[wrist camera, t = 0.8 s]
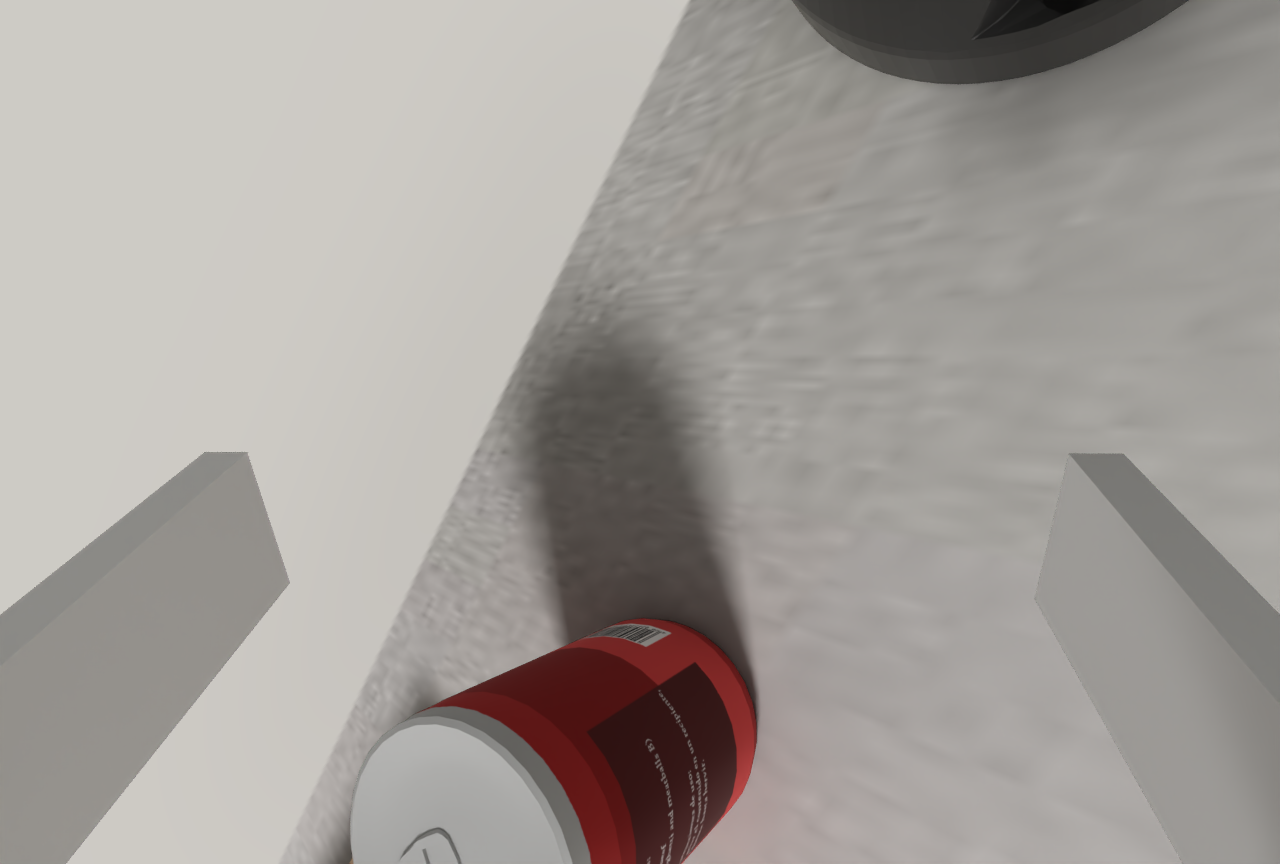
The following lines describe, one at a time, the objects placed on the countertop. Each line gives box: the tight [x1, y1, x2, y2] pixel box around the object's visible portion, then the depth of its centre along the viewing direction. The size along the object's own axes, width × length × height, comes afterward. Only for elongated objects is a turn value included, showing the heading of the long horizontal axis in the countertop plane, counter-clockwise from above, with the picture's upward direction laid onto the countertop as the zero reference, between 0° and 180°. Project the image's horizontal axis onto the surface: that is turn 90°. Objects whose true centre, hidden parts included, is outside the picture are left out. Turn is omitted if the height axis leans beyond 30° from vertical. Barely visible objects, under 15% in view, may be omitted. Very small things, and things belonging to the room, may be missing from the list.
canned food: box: [350, 618, 757, 864], centre depth 23 cm, size 8×8×11 cm
